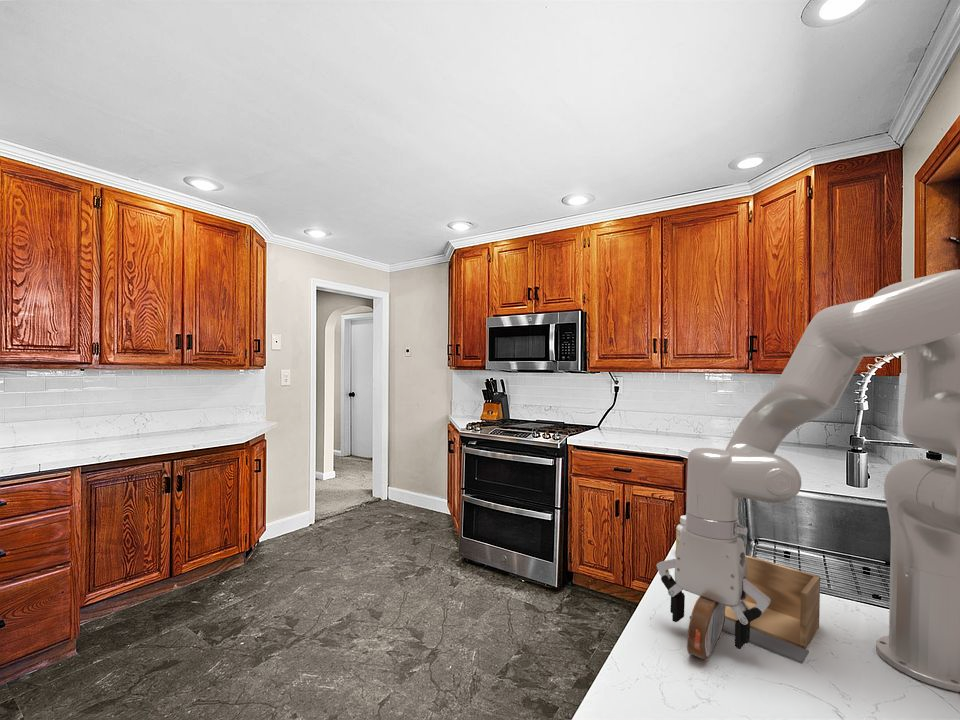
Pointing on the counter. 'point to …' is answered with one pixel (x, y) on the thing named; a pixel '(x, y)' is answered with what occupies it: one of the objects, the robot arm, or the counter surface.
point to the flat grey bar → (770, 643)
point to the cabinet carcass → (784, 602)
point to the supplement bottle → (680, 529)
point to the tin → (705, 627)
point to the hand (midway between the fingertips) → (707, 631)
